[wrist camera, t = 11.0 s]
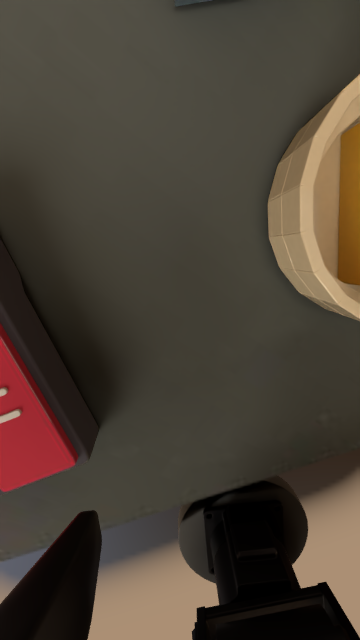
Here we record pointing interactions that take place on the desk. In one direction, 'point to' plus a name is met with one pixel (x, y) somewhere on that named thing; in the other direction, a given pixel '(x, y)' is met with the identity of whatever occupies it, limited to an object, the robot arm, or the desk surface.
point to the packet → (349, 208)
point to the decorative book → (188, 2)
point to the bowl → (314, 206)
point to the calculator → (35, 395)
